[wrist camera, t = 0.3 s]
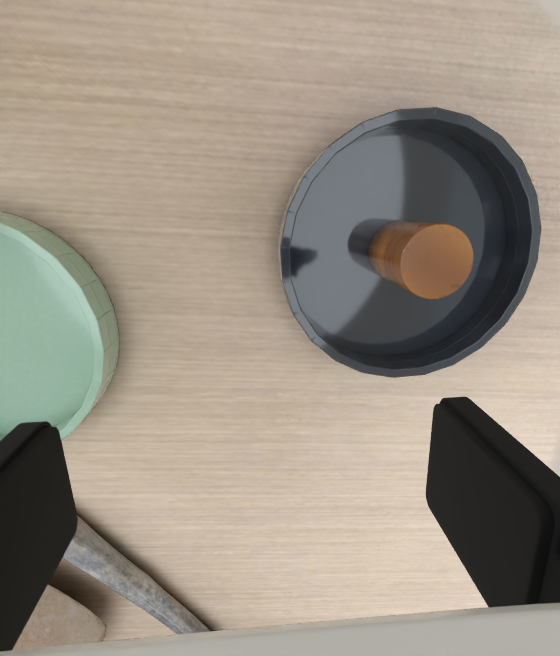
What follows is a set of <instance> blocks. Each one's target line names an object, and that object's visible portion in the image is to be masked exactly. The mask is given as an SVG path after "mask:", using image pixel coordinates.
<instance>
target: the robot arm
mask: <svg viewBox="0 0 560 656" xmlns="http://www.w3.org/2000/svg"><path fill="white" fill-rule="evenodd" d="M426 499H427V503H428V506H429V508H430V510H431V511H432V513H433V515H434V516H435V518H436V520H437V522H438V523H439V525H440V527H441V528H442V530H443V532H444V533H445V535H446V537H447V538H448V540H449V542H450V543H451V545H452V547H453V548H454V550H455V552H456V553H457V555H458V557H459V558H460V560H461V562H462V563H463V565H464V567H465V568H466V570H467V572H468V573H469V575H470V577H471V578H472V580H473V582H474V583H475V585H476V587H477V588H478V590H479V592H480V593H481V595H482V597H483V598H484V600H485V602H486V603H487V605H488V608H473V609H461V610H449V611H437V612H426V613H414V614H402V615H390V616H378V617H366V618H355V619H343V620H331V621H320V622H309V623H298V624H287V625H276V626H264V627H253V628H242V629H231V630H221V631H210V632H199V633H188V634H177V635H166V636H155V637H145V638H135V639H125V640H114V641H104V642H94V643H84V644H73V645H63V646H53V647H43V648H32V649H22V650H13V648H14V646H15V644H16V642H17V640H18V639H19V637H20V635H21V633H22V631H23V629H24V627H25V626H26V624H27V622H28V620H29V618H30V616H31V615H32V613H33V611H34V609H35V607H36V605H37V604H38V602H39V600H40V598H41V596H42V594H43V592H44V591H45V589H46V587H47V585H48V583H49V581H50V580H51V578H52V576H53V574H54V572H55V570H56V568H57V567H58V565H59V563H60V561H61V559H62V557H63V556H64V554H65V552H66V550H67V548H68V546H69V545H70V543H71V541H72V539H73V537H74V535H75V533H76V530H77V525H78V518H77V513H76V508H75V503H74V498H73V494H72V489H71V484H70V480H69V475H68V470H67V466H66V461H65V456H64V452H63V447H62V442H61V438H60V433H59V430H58V429H57V428H56V427H52V426H51V424H50V423H49V422H47V421H43V422H26V423H20V424H18V425H17V426H16V427H15V428H14V429H13V430H12V431H11V432H9V433H8V434H7V435H6V436H5V437H4V438H3V439H2V440H1V441H0V656H560V477H559V476H558V475H557V474H556V473H554V472H553V471H552V470H551V469H550V468H549V467H548V466H546V465H545V464H544V463H543V462H542V461H541V460H539V459H538V458H537V457H536V456H535V455H534V454H533V453H531V452H530V451H529V450H528V449H527V448H526V447H524V446H523V445H522V444H521V443H520V442H519V441H518V440H516V439H515V438H514V437H513V436H512V435H511V434H509V433H508V432H507V431H506V430H505V429H504V428H503V427H501V426H500V425H499V424H498V423H497V422H496V421H494V420H493V419H492V418H491V417H490V416H489V415H487V414H486V413H485V412H484V411H483V410H482V409H481V408H479V407H478V406H477V405H476V404H475V403H474V402H472V401H471V400H470V399H469V398H467V397H453V398H443V399H442V400H441V402H440V404H436V405H435V407H434V411H433V421H432V432H431V442H430V453H429V464H428V474H427V485H426Z"/></svg>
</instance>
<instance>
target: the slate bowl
mask: <svg viewBox="0 0 560 656" xmlns="http://www.w3.org/2000/svg"><path fill="white" fill-rule="evenodd" d="M393 221H414V222H427V223H440V224H448V225H452V226H454V227H457V228H458V229H460V230H461V231H462V232H463V233H464V234H465V235H466V236H467V237H468V239H469V241H470V243H471V245H472V249H473V265H472V269H471V272H470V274H469V276H468V278H467V279H466V281H465V282H464V284H463V285H462V286H461V287H460V288H459V289H458V290H456V291H455V292H454V293H452V294H450V295H448V296H446V297H443V298H439V299H425V298H421V297H419V296H417V295H415V294H413V293H411V292H409V291H407V290H405V289H403V288H401V287H400V286H398V285H396V284H394V283H392V282H390V281H388V280H386V279H384V278H382V277H381V276H379V275H378V274H377V273H376V272H375V271H374V269H373V268H372V266H371V264H370V261H369V246H370V243H371V240H372V238H373V236H374V235H375V233H376V232H377V231H378V230H379V229H380V228H381V227H383V226H384V225H386V224H388V223H390V222H393ZM540 235H541V222H540V215H539V207H538V199H537V194H536V191H535V188H534V186H533V184H532V181H531V179H530V177H529V174H528V172H527V170H526V167H525V165H524V163H523V161H522V160H521V158H520V157H519V156H518V155H517V154H516V152H515V151H514V150H513V149H512V148H511V146H510V145H509V144H508V143H507V142H506V140H505V139H504V138H503V137H502V136H501V135H500V134H498V133H497V132H495V131H493V130H492V129H490V128H489V127H487V126H485V125H484V124H482V123H481V122H479V121H478V120H476V119H474V118H473V117H471V116H469V115H465V114H461V113H457V112H453V111H449V110H445V109H441V108H437V107H436V108H435V107H431V108H414V109H399V110H395V111H392V112H389V113H386V114H384V115H381V116H378V117H375V118H372V119H370V120H367V121H364V122H362V123H360V124H358V125H357V126H356V127H354V128H353V129H351V130H350V131H349V132H347V133H346V134H344V135H343V136H342V137H340V138H339V139H337V140H336V141H334V142H333V143H332V144H330V145H329V146H328V147H326V148H325V149H324V150H323V151H322V152H321V153H320V154H319V155H318V156H317V157H316V159H315V160H314V161H313V162H312V163H311V164H310V165H309V166H308V168H307V169H306V171H305V172H304V173H303V174H302V175H301V177H300V178H299V179H298V181H297V183H296V185H295V187H294V189H293V191H292V193H291V194H290V197H289V199H288V202H287V204H286V206H285V209H284V211H283V216H282V220H281V224H280V228H279V236H278V242H277V249H278V266H279V276H280V280H281V283H282V285H283V289H284V291H285V294H286V297H287V300H288V303H289V306H290V308H291V311H292V313H293V315H294V317H295V318H296V320H297V321H298V322H299V324H300V325H301V327H302V328H303V330H304V331H305V333H306V334H307V336H308V337H309V339H310V340H311V341H312V342H313V343H314V344H316V345H317V346H318V347H319V348H320V349H322V350H323V351H324V352H325V353H326V354H328V355H329V356H330V357H331V358H332V359H334V360H335V361H337V362H339V363H342V364H344V365H346V366H348V367H351V368H353V369H355V370H357V371H359V372H363V373H367V374H374V375H380V376H386V377H393V378H394V377H405V376H416V375H423V374H424V375H425V374H428V373H431V372H434V371H437V370H440V369H443V368H446V367H449V366H452V365H454V364H456V363H457V362H459V361H460V360H462V359H464V358H465V357H467V356H469V355H470V354H472V353H473V352H475V351H477V350H478V349H480V348H481V347H483V346H484V345H485V344H486V343H487V342H488V341H489V340H490V339H491V338H492V337H493V336H494V335H495V334H496V333H497V332H498V331H499V330H500V329H501V328H502V327H503V326H504V325H505V324H506V323H507V322H508V320H509V318H510V317H511V315H512V314H513V312H514V311H515V309H516V308H517V306H518V305H519V303H520V302H521V300H522V299H523V297H524V295H525V293H526V291H527V288H528V285H529V283H530V280H531V277H532V275H533V272H534V269H535V267H536V263H537V259H538V251H539V243H540Z"/></svg>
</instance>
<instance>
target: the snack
mask: <svg viewBox="0 0 560 656" xmlns="http://www.w3.org/2000/svg"><path fill="white" fill-rule="evenodd" d="M369 261H370V264H371V266H372V268H373V269H374V271H375V272H376V273H377V274H378V275H379V276H381V277H382V278H384V279H386V280H388V281H390V282H392V283H394V284H396V285H398V286H400V287H401V288H403V289H405V290H407V291H409V292H411V293H413V294H415V295H417V296H419V297H421V298H425V299H439V298H443V297H446V296H448V295H450V294H452V293H454V292H455V291H456V290H458V289H459V288H460V287H461V286H462V285H463V284H464V282H465V281H466V279H467V278H468V276H469V274H470V272H471V269H472V265H473V249H472V245H471V243H470V241H469V239H468V237H467V236H466V235H465V234H464V233H463V232H462V231H461V230H460V229H458V228H457V227H454V226H452V225H448V224H440V223H427V222H414V221H393V222H390V223H388V224H386V225H384V226H383V227H381V228H380V229H379V230H378V231H377V232H376V233H375V235H374V236H373V238H372V240H371V243H370V246H369Z"/></svg>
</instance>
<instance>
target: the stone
mask: <svg viewBox="0 0 560 656" xmlns="http://www.w3.org/2000/svg"><path fill="white" fill-rule="evenodd" d="M105 631H106V624H105V623H104V622H103V621H102V620H101V619H100V618H99V617H98V616H96V615H95V614H94V613H92V612H91V611H90V610H89V609H87V608H86V607H84V606H83V605H82V604H80V603H79V602H77V601H76V600H74V599H72V598H71V597H69V596H67V595H66V594H64V593H63V592H61V591H59V590H58V589H56V588H54V587H53V586H51V585H49V584H48V585H47V587H46V589H45V591H44V592H43V594H42V596H41V598H40V600H39V602H38V604H37V605H36V607H35V609H34V611H33V613H32V615H31V616H30V618H29V620H28V622H27V624H26V626H25V627H24V629H23V631H22V633H21V635H20V637H19V639H18V640H17V642H16V644H15V646H14V648H13V650H22V649H32V648H43V647H53V646H63V645H73V644H84V643H94V642H103V639H104V635H105Z"/></svg>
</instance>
